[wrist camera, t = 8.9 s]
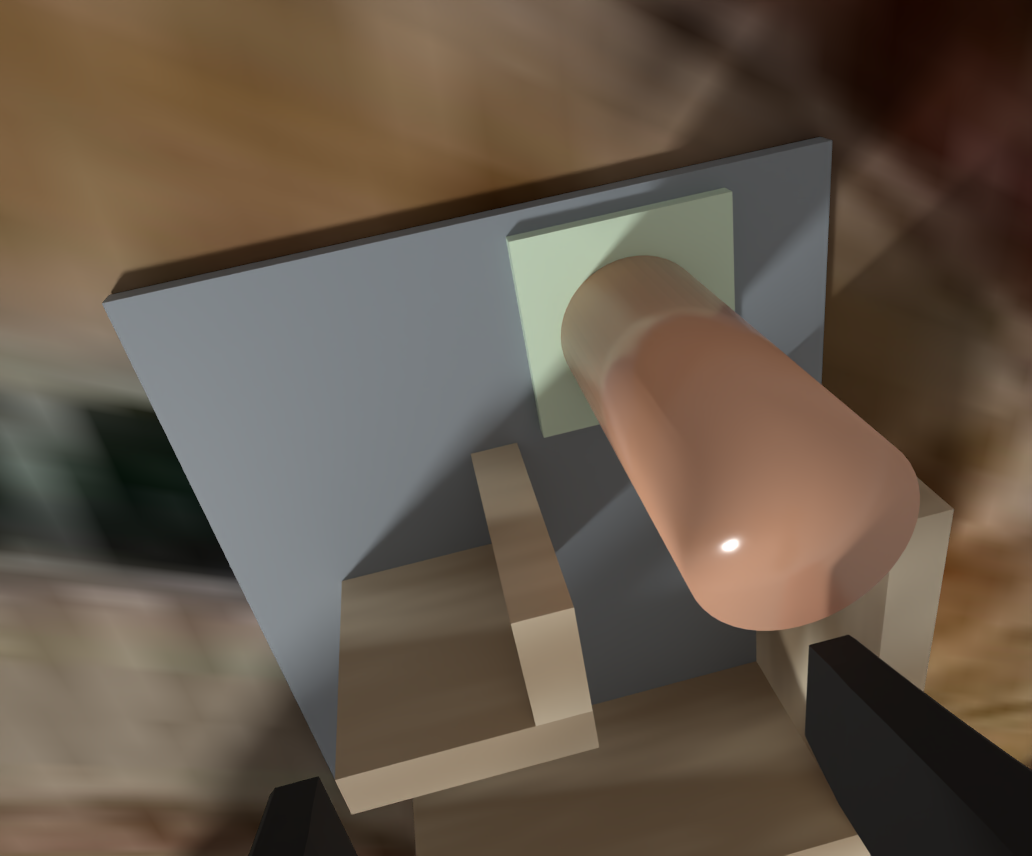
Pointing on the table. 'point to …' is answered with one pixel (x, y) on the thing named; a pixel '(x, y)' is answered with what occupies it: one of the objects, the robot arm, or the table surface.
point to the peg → (736, 450)
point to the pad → (590, 246)
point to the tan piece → (591, 706)
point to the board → (444, 417)
